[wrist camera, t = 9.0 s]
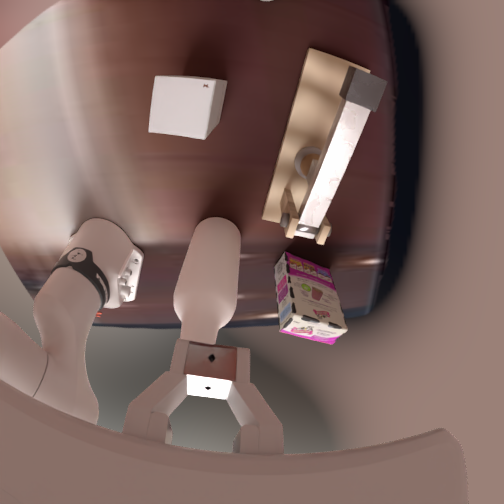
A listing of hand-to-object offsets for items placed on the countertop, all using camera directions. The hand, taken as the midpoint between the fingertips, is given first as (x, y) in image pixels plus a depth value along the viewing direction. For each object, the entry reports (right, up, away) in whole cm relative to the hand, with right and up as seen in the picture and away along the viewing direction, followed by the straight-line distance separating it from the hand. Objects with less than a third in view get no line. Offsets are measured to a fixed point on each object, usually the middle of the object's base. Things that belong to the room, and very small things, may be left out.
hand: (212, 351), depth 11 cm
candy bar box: (+12, +1, +45) cm, 47 cm away
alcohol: (-5, +7, +41) cm, 41 cm away
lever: (+12, +18, +23) cm, 31 cm away
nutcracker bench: (+12, +22, +30) cm, 39 cm away
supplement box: (-6, +28, +26) cm, 39 cm away
